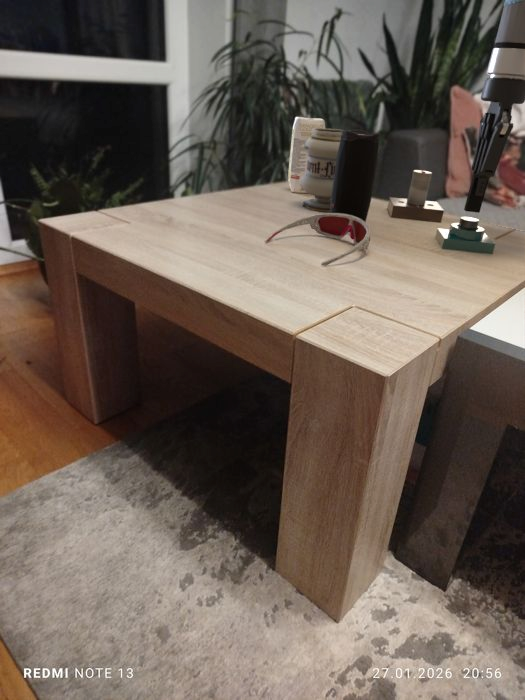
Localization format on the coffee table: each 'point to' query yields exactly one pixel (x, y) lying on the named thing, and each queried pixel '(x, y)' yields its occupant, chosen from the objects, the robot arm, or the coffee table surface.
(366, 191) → the portable speaker
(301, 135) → the white carton
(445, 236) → the green stepped pedestal
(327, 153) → the apothecary jar
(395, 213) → the brown block with holes
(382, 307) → the coffee table surface
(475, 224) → the grey short cylinder
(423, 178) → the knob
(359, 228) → the sunglasses
